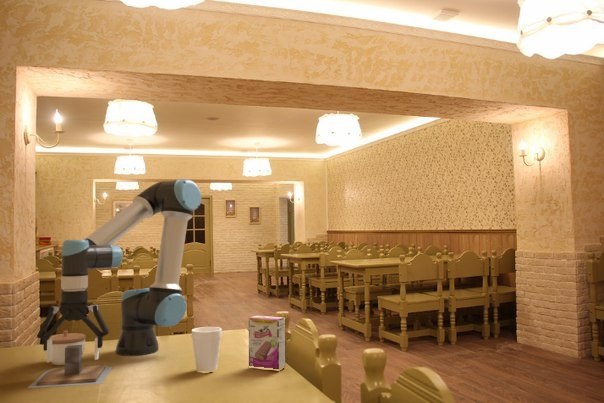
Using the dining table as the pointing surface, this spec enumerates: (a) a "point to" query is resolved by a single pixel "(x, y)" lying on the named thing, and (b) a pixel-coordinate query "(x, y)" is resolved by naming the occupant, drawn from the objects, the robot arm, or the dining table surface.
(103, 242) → the robot arm
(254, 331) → the candy bar box
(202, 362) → the foam cup
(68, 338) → the lidded bowl
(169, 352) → the dining table surface
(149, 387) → the dining table surface
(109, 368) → the mat
